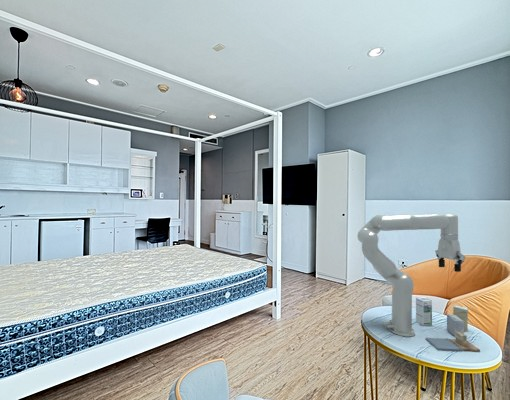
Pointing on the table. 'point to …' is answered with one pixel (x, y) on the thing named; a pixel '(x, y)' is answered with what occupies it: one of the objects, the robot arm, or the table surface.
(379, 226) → the robot arm
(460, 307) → the skincare box
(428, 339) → the plate
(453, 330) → the medicine box
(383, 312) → the table surface
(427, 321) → the syrup box
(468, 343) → the stub
